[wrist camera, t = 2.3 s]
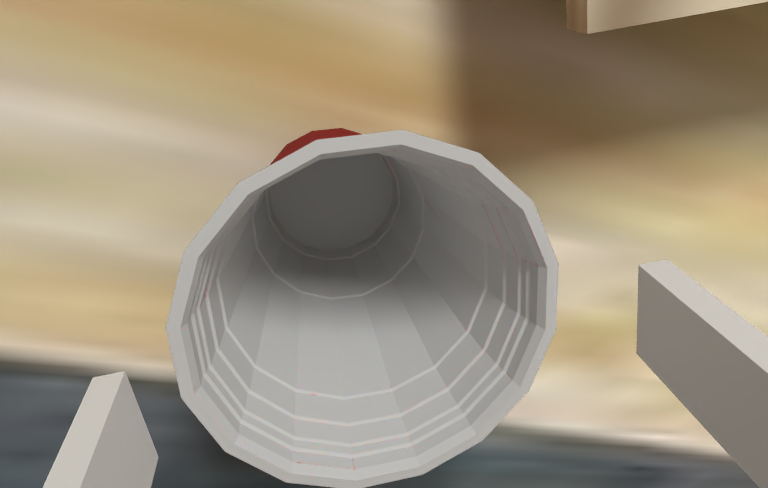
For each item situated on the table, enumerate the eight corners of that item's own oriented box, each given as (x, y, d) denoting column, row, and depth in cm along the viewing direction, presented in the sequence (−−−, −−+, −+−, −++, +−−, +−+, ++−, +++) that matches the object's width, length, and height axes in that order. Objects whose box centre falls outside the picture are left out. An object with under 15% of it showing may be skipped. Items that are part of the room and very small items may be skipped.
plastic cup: (501, 202, 29) (637, 345, 18) (319, 339, 31) (346, 547, 20) (357, 3, 25) (423, 37, 14) (151, 174, 26) (67, 327, 15)
